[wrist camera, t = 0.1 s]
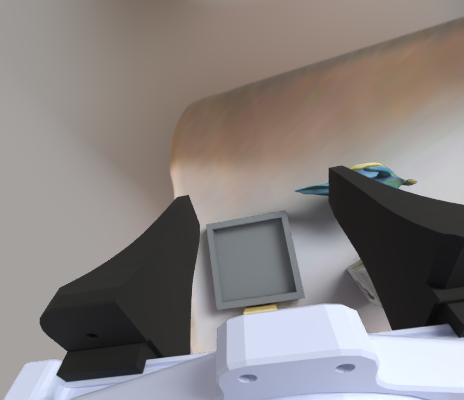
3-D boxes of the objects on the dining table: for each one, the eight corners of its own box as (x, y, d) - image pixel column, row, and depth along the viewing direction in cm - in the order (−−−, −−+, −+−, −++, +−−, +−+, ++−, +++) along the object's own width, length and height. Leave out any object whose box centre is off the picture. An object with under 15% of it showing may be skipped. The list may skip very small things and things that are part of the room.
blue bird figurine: (342, 216, 44) (337, 184, 46) (422, 201, 35) (413, 162, 36) (294, 210, 37) (290, 173, 38) (378, 190, 27) (369, 141, 29)
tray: (302, 295, 40) (304, 298, 38) (220, 306, 42) (216, 310, 39) (285, 213, 44) (286, 210, 41) (209, 226, 45) (206, 224, 43)
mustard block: (281, 335, 40) (283, 345, 35) (251, 338, 40) (249, 349, 35) (275, 302, 41) (276, 308, 36) (246, 306, 41) (243, 312, 37)
